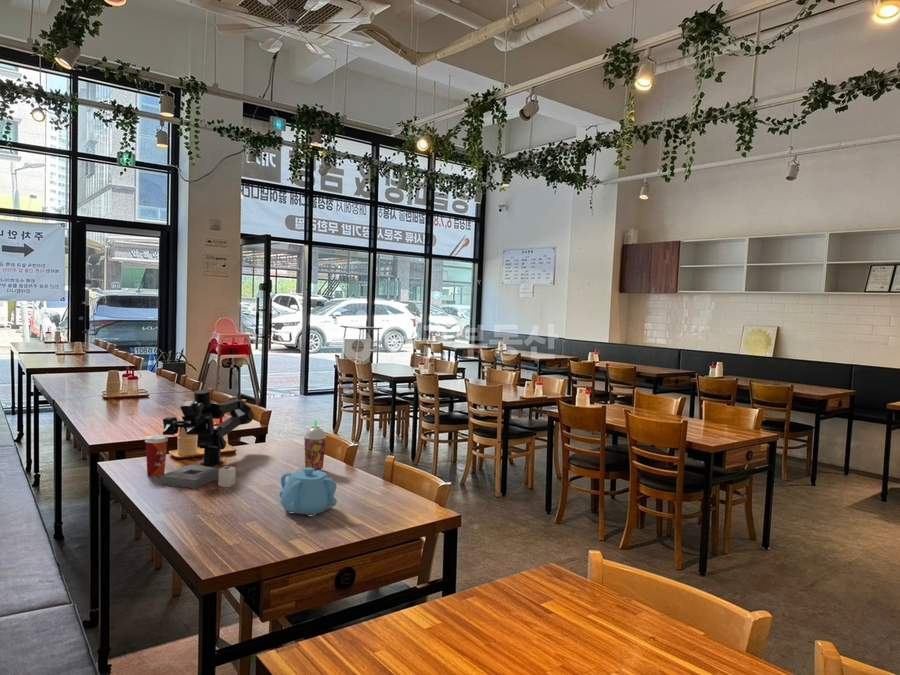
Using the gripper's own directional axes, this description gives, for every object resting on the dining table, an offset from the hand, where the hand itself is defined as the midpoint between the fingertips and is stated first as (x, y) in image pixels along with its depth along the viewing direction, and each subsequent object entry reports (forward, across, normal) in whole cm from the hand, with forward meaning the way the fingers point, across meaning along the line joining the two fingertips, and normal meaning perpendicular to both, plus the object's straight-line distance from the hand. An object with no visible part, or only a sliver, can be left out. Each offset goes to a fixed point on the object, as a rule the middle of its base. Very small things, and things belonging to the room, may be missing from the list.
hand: (174, 433), depth 215 cm
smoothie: (-25, +39, +25) cm, 53 cm away
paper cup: (-3, -12, +17) cm, 21 cm away
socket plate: (0, +4, +18) cm, 18 cm away
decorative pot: (+18, +54, +20) cm, 61 cm away
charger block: (+1, +18, +19) cm, 26 cm away
